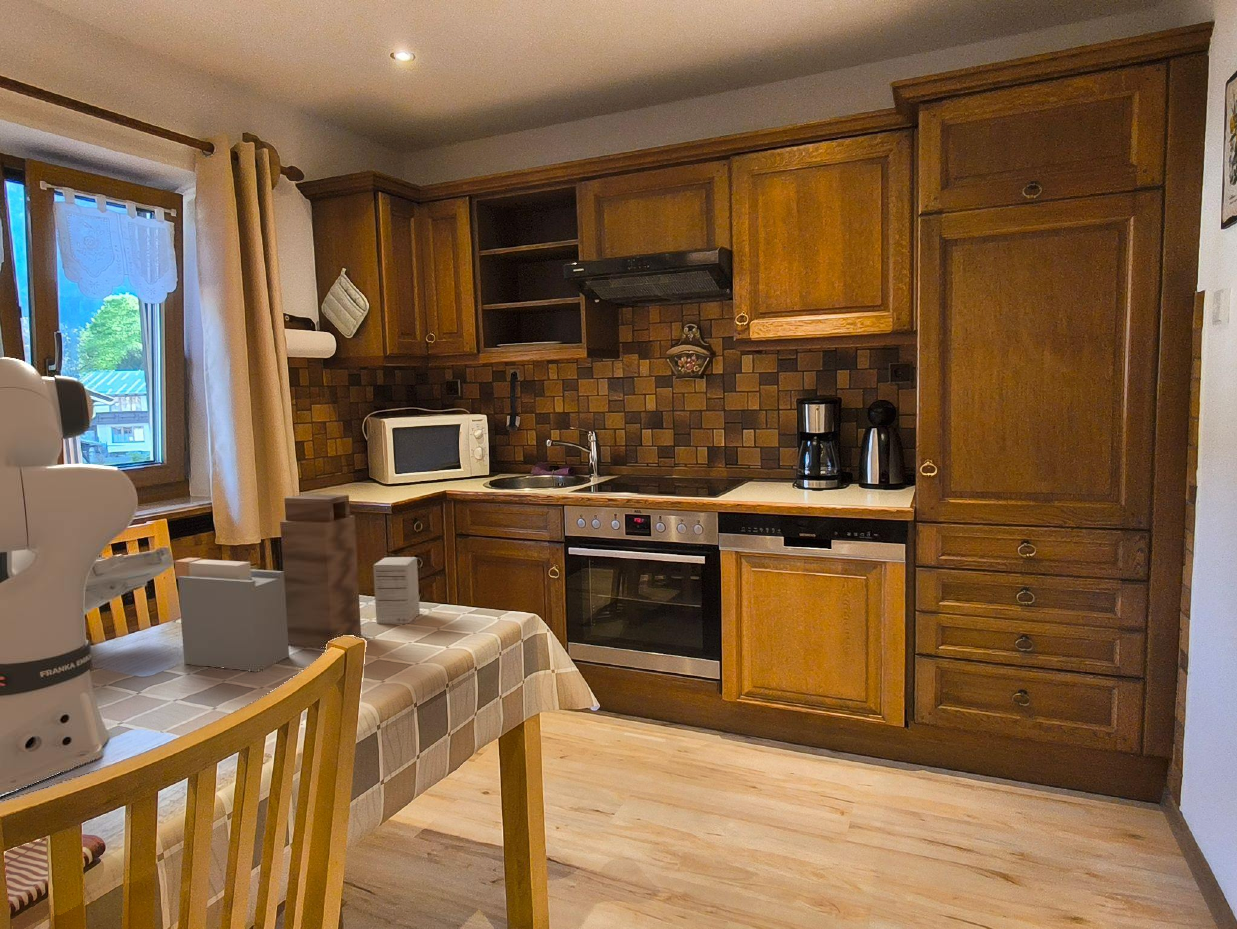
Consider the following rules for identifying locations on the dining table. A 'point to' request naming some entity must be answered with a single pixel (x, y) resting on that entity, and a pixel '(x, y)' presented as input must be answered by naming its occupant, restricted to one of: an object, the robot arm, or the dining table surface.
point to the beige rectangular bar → (213, 568)
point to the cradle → (234, 620)
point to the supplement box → (396, 589)
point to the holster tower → (320, 569)
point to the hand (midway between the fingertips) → (143, 554)
